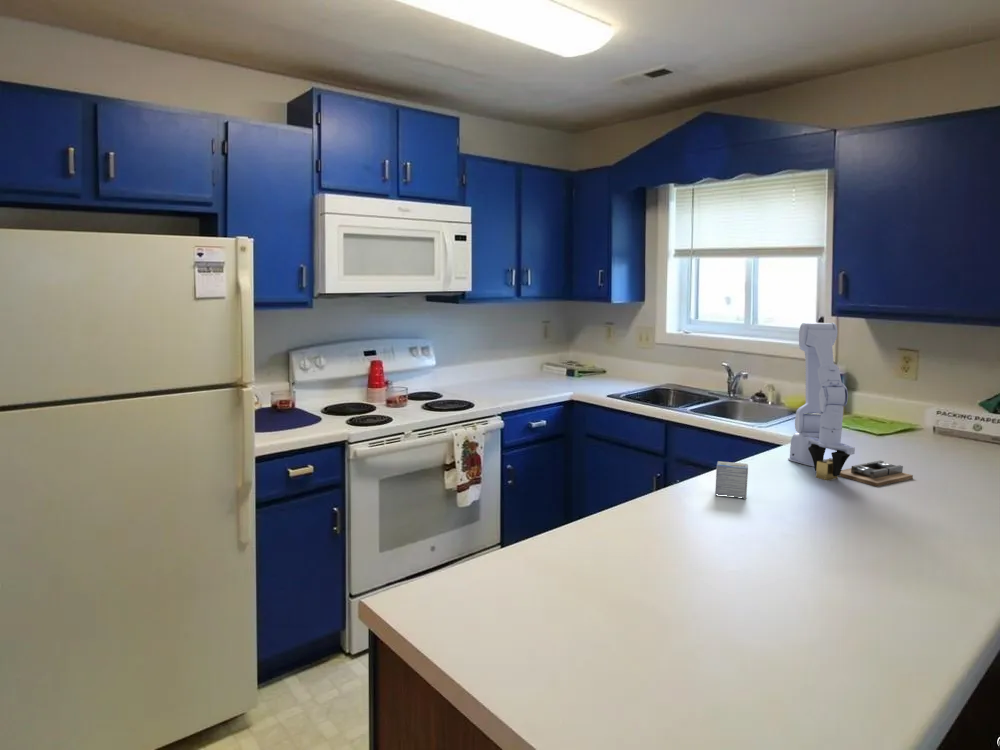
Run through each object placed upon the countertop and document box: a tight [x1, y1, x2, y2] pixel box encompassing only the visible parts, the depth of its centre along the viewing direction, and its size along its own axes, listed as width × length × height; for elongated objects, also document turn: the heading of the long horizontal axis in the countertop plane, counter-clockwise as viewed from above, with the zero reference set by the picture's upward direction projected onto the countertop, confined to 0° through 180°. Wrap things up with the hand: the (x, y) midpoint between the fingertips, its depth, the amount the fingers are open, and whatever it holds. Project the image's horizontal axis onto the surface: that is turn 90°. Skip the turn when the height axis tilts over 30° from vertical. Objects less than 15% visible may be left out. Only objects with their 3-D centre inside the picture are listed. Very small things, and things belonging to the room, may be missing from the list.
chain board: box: [838, 467, 914, 487], centre depth 201 cm, size 13×17×1 cm
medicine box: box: [714, 460, 749, 499], centre depth 181 cm, size 8×4×9 cm, turn 71°
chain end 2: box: [866, 460, 904, 475], centre depth 203 cm, size 7×7×2 cm
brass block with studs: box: [815, 457, 839, 481], centre depth 199 cm, size 4×5×6 cm
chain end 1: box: [850, 463, 888, 479], centre depth 200 cm, size 7×7×2 cm
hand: (827, 473), depth 199 cm, fingers open, 5 cm apart
